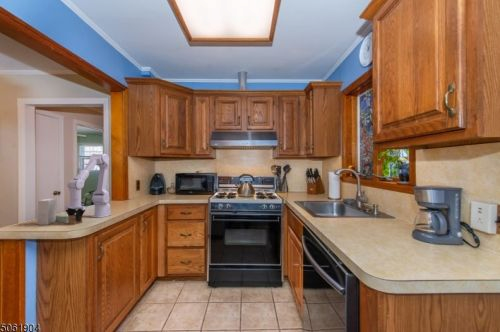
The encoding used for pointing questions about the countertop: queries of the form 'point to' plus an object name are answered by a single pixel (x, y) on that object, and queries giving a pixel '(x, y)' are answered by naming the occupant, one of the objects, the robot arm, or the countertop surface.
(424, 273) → the countertop surface
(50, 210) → the skincare box
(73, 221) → the walnut cube
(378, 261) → the countertop surface
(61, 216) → the sage block
